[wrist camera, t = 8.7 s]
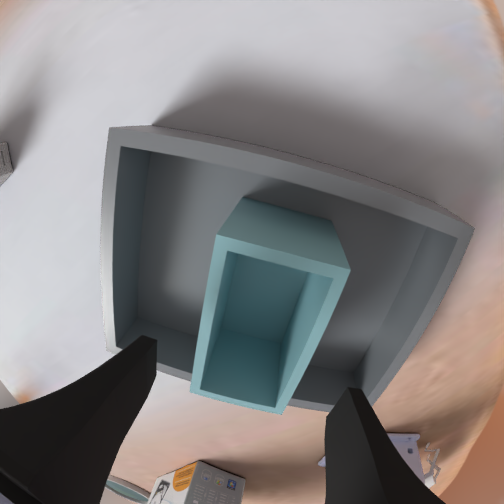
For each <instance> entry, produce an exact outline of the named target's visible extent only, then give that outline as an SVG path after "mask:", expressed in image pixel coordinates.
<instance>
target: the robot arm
mask: <svg viewBox="0 0 504 504" xmlns="http://www.w3.org/2000/svg"><path fill="white" fill-rule="evenodd" d="M157 341H158V340H156V339H153V338H150V337H148V336H145V335H141V336H139V337H138V338H137V339H135V340H134V341H133V342H132V343H130V344H129V345H128V346H127V347H125V348H124V349H123V350H121V351H120V352H119V353H117V354H116V355H115V356H113V357H112V358H111V359H109V360H108V361H106V362H105V363H104V364H102V365H101V366H99V367H98V368H96V369H95V370H93V371H92V372H90V373H88V374H87V375H85V376H84V377H82V378H80V379H79V380H77V381H75V382H73V383H71V384H69V385H68V386H66V387H64V388H62V389H59V390H57V391H55V392H53V393H50V394H48V395H46V396H43V397H41V398H38V399H35V400H33V401H29V402H26V403H23V404H19V405H16V406H13V407H9V408H4V409H0V504H100V500H101V497H102V494H103V491H104V488H105V485H106V482H107V479H108V476H109V474H110V471H111V468H112V466H113V463H114V461H115V458H116V456H117V453H118V451H119V448H120V446H121V444H122V442H123V440H124V438H125V436H126V434H127V433H128V431H129V429H130V427H131V426H132V424H133V422H134V420H135V418H136V417H137V415H138V413H139V411H140V410H141V408H142V406H143V404H144V402H145V401H146V399H147V397H148V395H149V392H150V390H151V387H152V385H153V382H154V380H155V377H156V369H157ZM419 438H420V434H393V433H386V432H385V430H384V428H383V426H382V425H381V423H380V421H379V419H378V418H377V416H376V414H375V412H374V410H373V409H372V407H371V405H370V403H369V401H368V399H367V398H366V396H365V394H364V392H363V391H362V389H358V388H351V387H347V388H346V390H345V391H344V393H343V394H342V396H341V397H340V399H339V400H338V402H337V403H336V404H335V406H334V407H333V409H332V410H331V411H330V413H329V414H328V416H327V417H326V427H325V456H324V457H323V458H322V459H321V460H320V461H319V462H318V465H319V466H323V467H326V499H325V504H446V503H444V502H443V501H442V500H441V499H439V498H438V497H437V496H436V495H435V494H434V493H433V492H432V491H431V490H430V489H429V488H428V487H427V486H426V485H425V478H424V473H423V469H422V464H421V460H420V455H419V451H418V447H417V442H416V441H417V440H418V439H419Z"/></svg>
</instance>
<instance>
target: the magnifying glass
mask: <svg viewBox="0 0 504 504" xmlns="http://www.w3.org/2000/svg"><path fill="white" fill-rule="evenodd" d="M105 488H107V489H108V490H110V491H112V492H113V493H115V494H117V495H119V496H121V497H123V498H126V499H128V500H130V501H133V502H136V503H139V504H147V503H148V500H149V498H150V495H151V494H149V493H148V492H146V491H144V490H143V489H141V488H139V487H137V486H135V485H133V484H131V483H129V482H127V481H124V480H122V479H119V478H117V477H114V476H111V475H109V476H108V479H107V482H106V485H105Z"/></svg>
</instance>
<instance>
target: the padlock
mask: <svg viewBox="0 0 504 504" xmlns="http://www.w3.org/2000/svg"><path fill="white" fill-rule="evenodd" d="M12 172H13V169H12V165H11V160H10V156H9V151H8V145H7V142H2V143H0V186H1V185H2V184H3V182H4V181H5V180H6V179H7V178H8V177H9V176H10V175H11V174H12Z"/></svg>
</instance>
